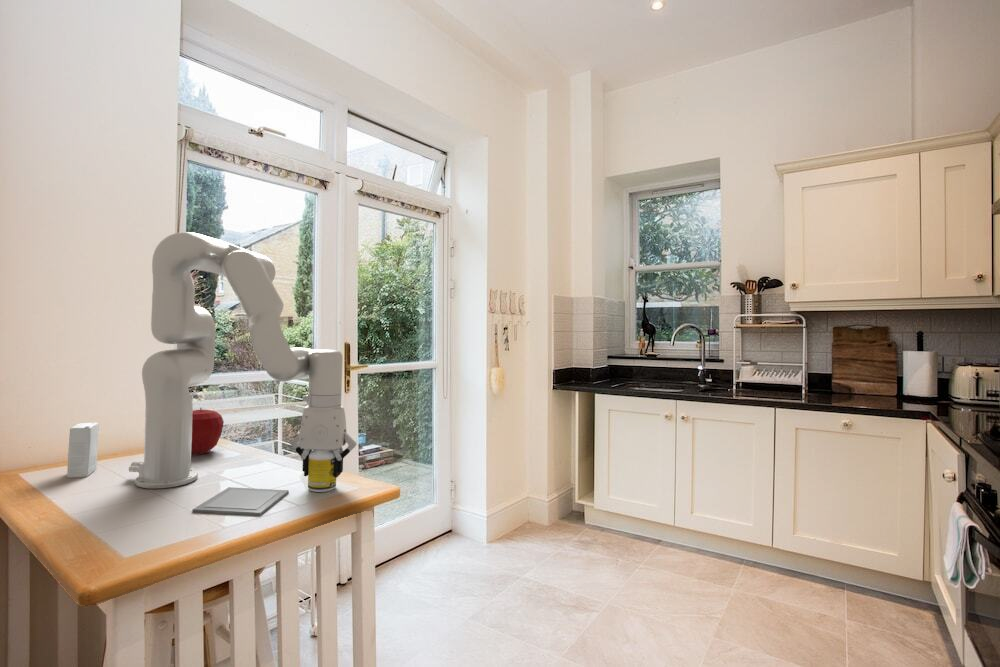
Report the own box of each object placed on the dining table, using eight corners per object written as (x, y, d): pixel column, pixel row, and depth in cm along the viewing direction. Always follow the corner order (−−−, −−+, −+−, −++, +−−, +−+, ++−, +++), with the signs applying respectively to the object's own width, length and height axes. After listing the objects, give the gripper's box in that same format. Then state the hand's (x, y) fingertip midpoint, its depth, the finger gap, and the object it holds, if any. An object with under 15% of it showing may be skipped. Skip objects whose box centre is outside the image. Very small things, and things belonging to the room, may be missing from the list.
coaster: (192, 512, 105) (192, 508, 105) (228, 489, 119) (228, 486, 119) (260, 515, 105) (260, 512, 105) (288, 492, 119) (288, 489, 119)
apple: (228, 454, 148) (230, 408, 147) (182, 460, 139) (184, 412, 139) (214, 445, 156) (216, 402, 156) (170, 451, 148) (172, 405, 147)
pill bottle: (327, 494, 119) (328, 445, 118) (302, 491, 120) (303, 442, 120) (341, 485, 125) (342, 438, 125) (317, 483, 126) (318, 436, 126)
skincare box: (75, 471, 127) (77, 422, 126) (98, 469, 128) (99, 422, 128) (66, 478, 121) (67, 427, 121) (89, 477, 123) (90, 427, 122)
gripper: (282, 402, 118) (279, 478, 119) (356, 405, 118) (354, 481, 119) (295, 397, 126) (293, 469, 126) (365, 400, 126) (362, 471, 126)
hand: (322, 474), depth 123 cm, fingers closed on pill bottle, 6 cm apart
